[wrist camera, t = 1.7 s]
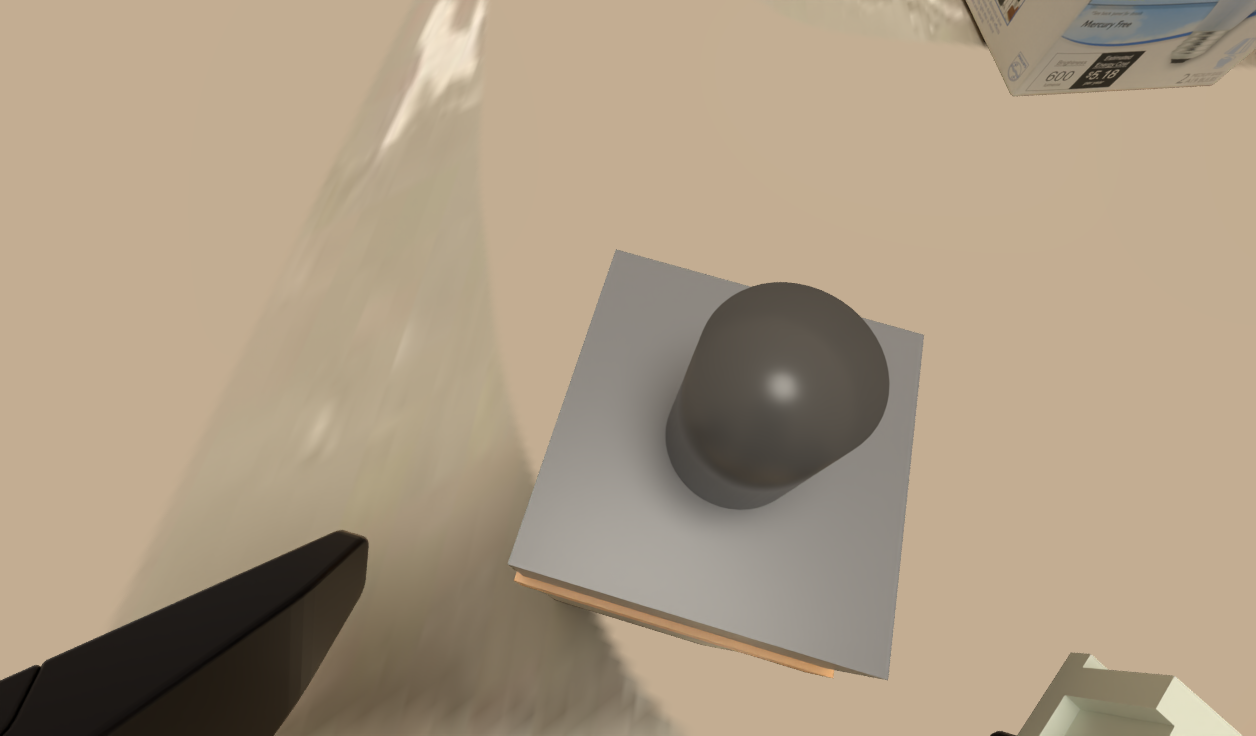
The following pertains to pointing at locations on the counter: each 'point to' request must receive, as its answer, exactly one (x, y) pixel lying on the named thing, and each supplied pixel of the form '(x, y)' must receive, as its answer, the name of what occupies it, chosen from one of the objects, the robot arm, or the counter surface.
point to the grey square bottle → (731, 469)
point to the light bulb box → (1114, 42)
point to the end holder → (1120, 705)
